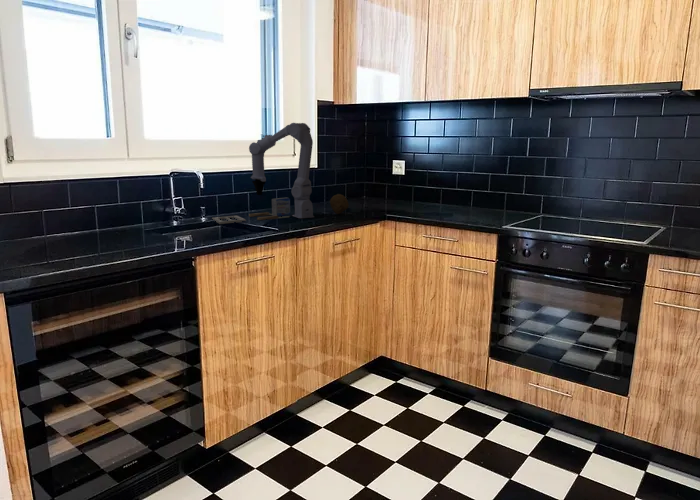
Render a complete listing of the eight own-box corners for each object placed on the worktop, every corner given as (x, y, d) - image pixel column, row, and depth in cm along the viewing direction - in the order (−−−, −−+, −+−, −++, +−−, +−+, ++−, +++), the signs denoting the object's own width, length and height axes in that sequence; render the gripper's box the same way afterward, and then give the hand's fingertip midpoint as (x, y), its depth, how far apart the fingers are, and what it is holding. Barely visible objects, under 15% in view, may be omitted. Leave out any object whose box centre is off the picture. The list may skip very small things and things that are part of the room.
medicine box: (276, 217, 240) (275, 199, 238) (272, 216, 244) (271, 198, 242) (290, 215, 245) (290, 197, 243) (285, 214, 248) (285, 197, 246)
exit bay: (289, 217, 240) (289, 216, 239) (279, 218, 237) (279, 217, 237) (279, 213, 250) (279, 212, 250) (269, 214, 248) (269, 213, 248)
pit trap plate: (245, 221, 229) (245, 219, 229) (220, 224, 223) (219, 221, 223) (236, 217, 240) (236, 215, 239) (212, 219, 234) (211, 217, 234)
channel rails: (278, 218, 237) (278, 215, 236) (258, 220, 232) (258, 217, 231) (268, 214, 248) (268, 212, 247) (248, 216, 243) (248, 213, 242)
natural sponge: (345, 212, 254) (345, 192, 251) (351, 215, 245) (350, 194, 243) (328, 213, 251) (328, 193, 249) (333, 216, 243) (333, 195, 240)
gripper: (245, 166, 250) (247, 193, 253) (255, 168, 238) (257, 196, 241) (258, 166, 253) (260, 192, 257) (269, 168, 241) (270, 196, 244)
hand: (259, 194), depth 249 cm, fingers closed
